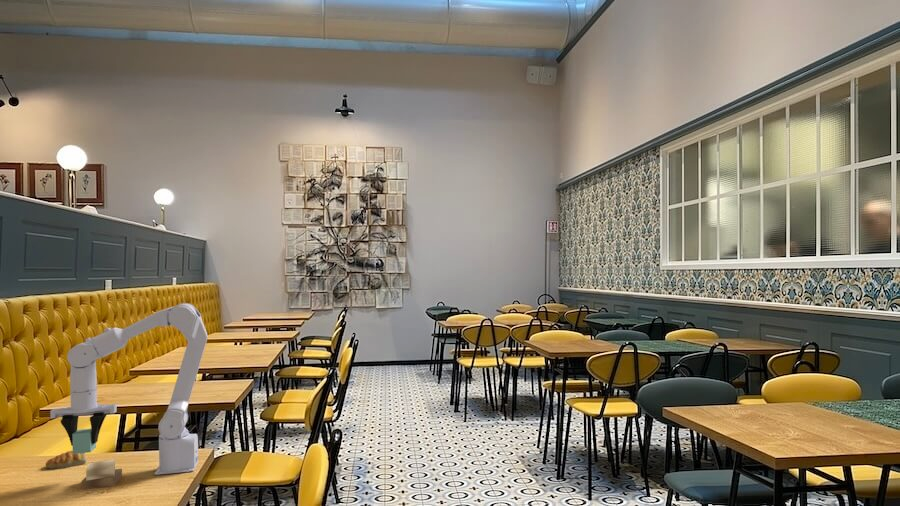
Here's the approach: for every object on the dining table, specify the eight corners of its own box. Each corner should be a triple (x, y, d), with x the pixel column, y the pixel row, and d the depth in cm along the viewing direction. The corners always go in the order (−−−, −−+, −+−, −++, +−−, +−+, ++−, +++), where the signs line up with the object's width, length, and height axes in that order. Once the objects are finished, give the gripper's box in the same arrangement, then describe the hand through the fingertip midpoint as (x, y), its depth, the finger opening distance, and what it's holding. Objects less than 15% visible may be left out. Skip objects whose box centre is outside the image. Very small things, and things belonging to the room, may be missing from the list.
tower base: (122, 478, 150) (122, 468, 150) (113, 488, 143) (113, 477, 143) (91, 481, 148) (91, 471, 148) (81, 491, 141) (81, 480, 141)
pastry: (47, 472, 154) (47, 458, 154) (44, 466, 159) (43, 452, 159) (88, 464, 160) (87, 450, 160) (83, 458, 165) (83, 445, 166)
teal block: (95, 447, 150) (95, 428, 150) (90, 452, 146) (90, 432, 146) (78, 449, 149) (78, 429, 149) (72, 453, 145) (72, 433, 145)
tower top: (115, 468, 150) (115, 459, 150) (114, 475, 144) (114, 465, 144) (87, 473, 147) (87, 463, 147) (86, 480, 141) (86, 470, 141)
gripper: (120, 385, 154) (120, 436, 153) (58, 389, 150) (58, 441, 150) (111, 390, 147) (112, 444, 146) (46, 395, 143) (47, 450, 143)
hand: (84, 443), depth 148 cm, fingers closed on teal block, 4 cm apart
